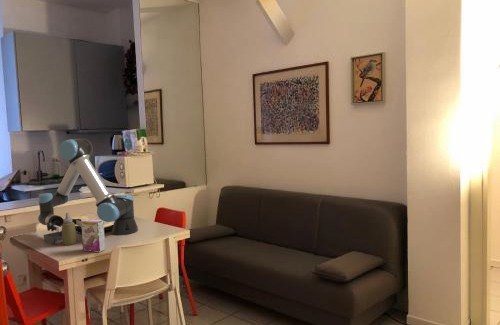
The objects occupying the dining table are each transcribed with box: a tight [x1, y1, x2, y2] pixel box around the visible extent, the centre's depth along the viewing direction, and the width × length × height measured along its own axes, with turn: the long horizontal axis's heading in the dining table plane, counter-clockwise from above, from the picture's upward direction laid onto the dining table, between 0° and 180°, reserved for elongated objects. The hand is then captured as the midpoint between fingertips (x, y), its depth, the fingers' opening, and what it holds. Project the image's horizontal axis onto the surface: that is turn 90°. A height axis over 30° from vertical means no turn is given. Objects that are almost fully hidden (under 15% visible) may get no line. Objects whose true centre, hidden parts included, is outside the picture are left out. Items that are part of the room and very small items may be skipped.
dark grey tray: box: [43, 230, 63, 245], centre depth 248 cm, size 13×13×4 cm
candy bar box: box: [80, 219, 106, 252], centre depth 225 cm, size 11×5×16 cm, turn 71°
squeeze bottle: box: [61, 212, 78, 246], centre depth 239 cm, size 8×8×18 cm
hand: (71, 226), depth 236 cm, fingers open, 12 cm apart
